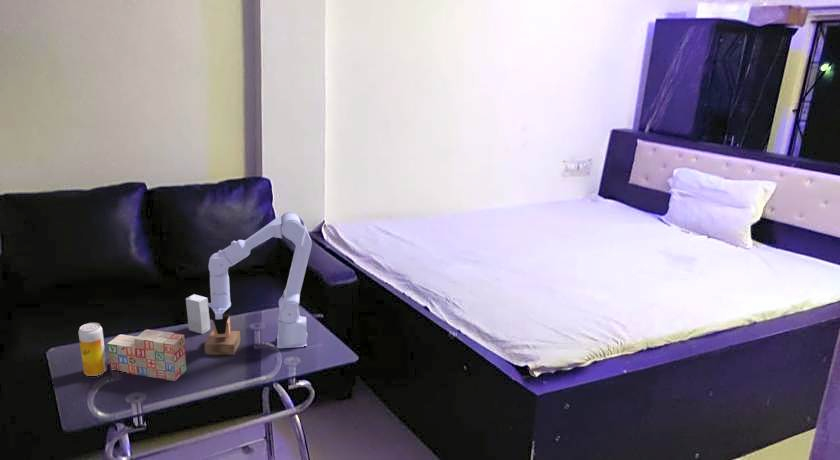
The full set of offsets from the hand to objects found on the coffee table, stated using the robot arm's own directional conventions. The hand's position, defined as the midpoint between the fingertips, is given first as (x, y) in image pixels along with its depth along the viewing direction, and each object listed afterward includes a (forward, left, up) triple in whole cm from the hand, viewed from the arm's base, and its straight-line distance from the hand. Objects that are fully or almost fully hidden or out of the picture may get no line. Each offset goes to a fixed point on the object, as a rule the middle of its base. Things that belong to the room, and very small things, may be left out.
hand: (222, 329), depth 196 cm
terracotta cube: (0, 0, -1) cm, 1 cm away
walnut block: (0, 0, -7) cm, 7 cm away
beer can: (+35, +11, -7) cm, 37 cm away
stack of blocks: (+20, +12, -7) cm, 24 cm away
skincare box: (+9, -13, -7) cm, 17 cm away
